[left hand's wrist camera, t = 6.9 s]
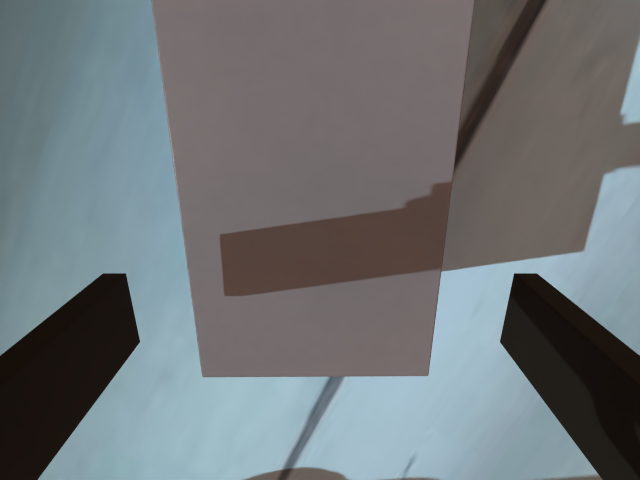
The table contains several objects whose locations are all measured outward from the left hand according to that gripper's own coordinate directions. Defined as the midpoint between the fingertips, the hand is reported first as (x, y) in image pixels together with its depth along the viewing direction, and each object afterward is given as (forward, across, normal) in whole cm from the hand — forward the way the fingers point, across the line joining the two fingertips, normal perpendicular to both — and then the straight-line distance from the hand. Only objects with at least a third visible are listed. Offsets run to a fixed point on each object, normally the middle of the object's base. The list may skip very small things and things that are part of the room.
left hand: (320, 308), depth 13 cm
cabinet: (+12, 0, -3) cm, 13 cm away
